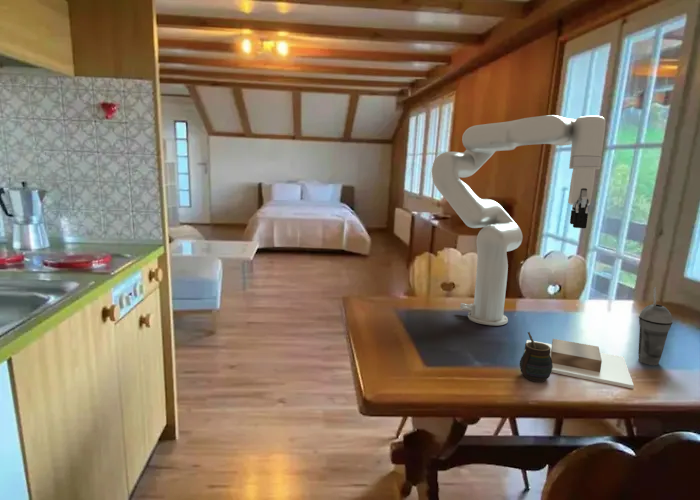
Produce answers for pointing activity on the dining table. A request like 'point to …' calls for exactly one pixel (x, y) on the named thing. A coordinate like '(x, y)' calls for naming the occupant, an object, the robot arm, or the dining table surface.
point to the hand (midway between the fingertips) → (577, 226)
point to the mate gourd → (536, 361)
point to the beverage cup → (653, 332)
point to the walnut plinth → (576, 355)
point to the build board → (610, 370)
